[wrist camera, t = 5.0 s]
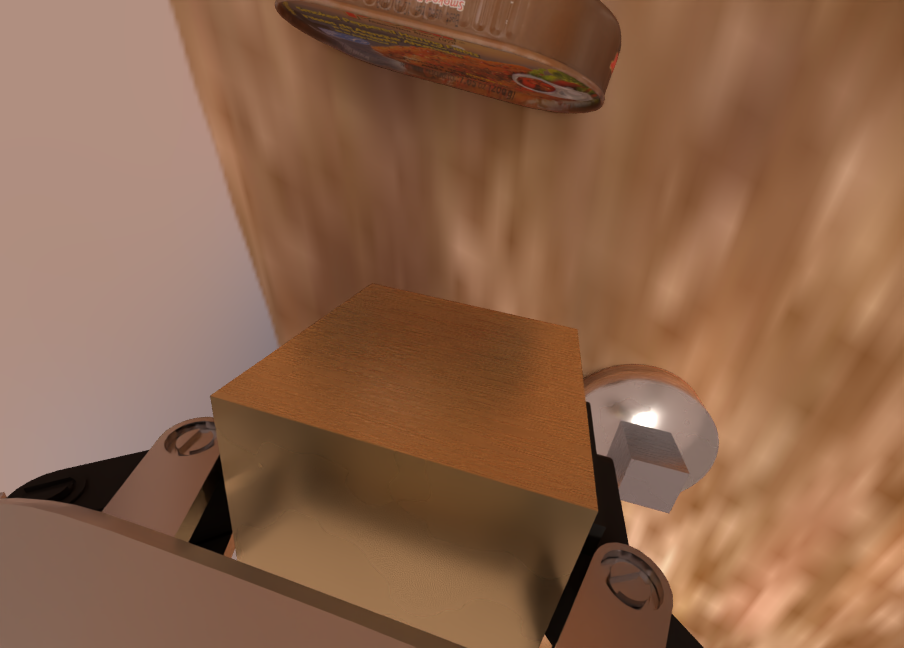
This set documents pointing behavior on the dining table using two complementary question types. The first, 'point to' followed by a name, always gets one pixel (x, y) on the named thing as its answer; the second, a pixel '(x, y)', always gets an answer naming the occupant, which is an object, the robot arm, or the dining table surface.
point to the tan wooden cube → (416, 464)
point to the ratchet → (651, 432)
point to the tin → (478, 44)
